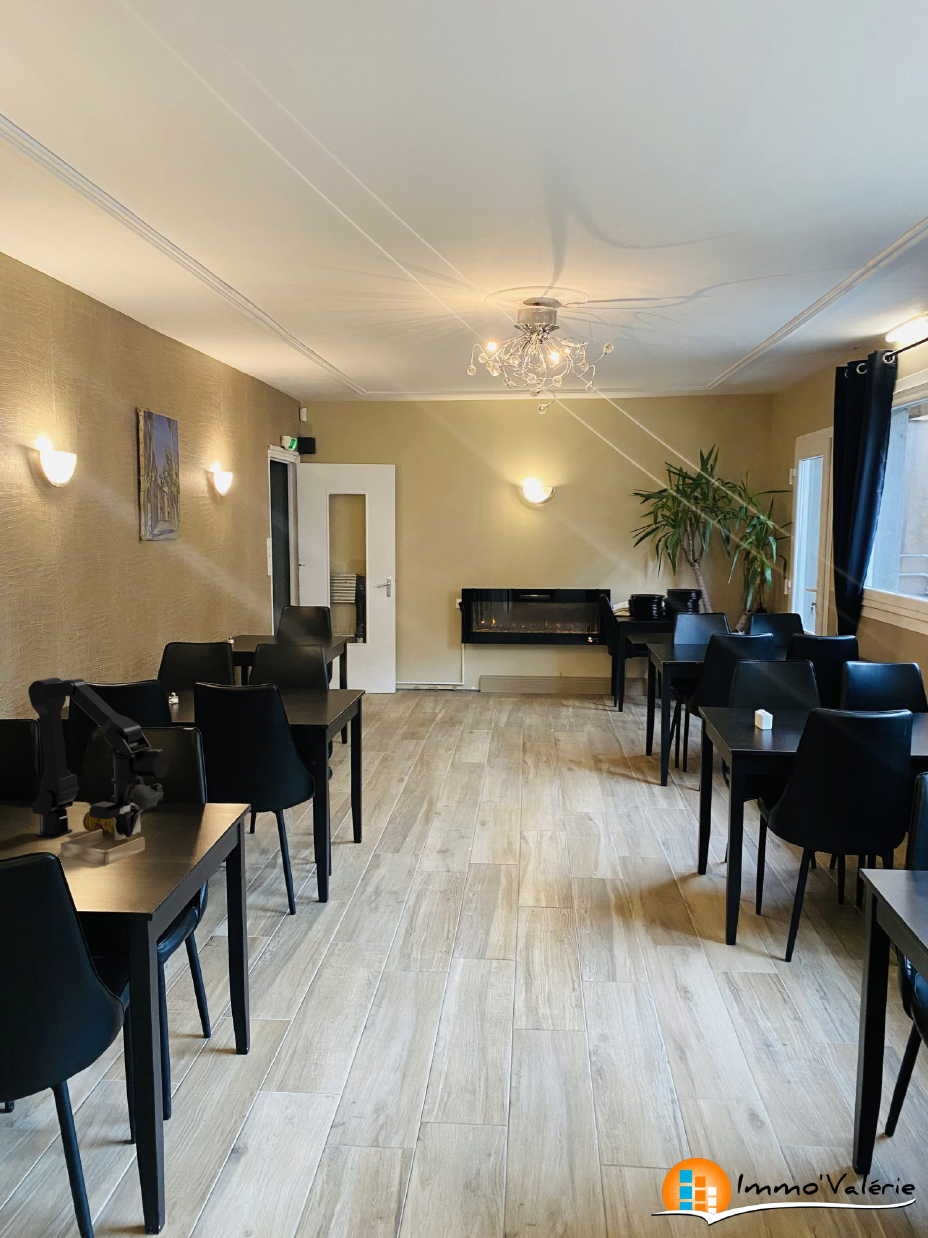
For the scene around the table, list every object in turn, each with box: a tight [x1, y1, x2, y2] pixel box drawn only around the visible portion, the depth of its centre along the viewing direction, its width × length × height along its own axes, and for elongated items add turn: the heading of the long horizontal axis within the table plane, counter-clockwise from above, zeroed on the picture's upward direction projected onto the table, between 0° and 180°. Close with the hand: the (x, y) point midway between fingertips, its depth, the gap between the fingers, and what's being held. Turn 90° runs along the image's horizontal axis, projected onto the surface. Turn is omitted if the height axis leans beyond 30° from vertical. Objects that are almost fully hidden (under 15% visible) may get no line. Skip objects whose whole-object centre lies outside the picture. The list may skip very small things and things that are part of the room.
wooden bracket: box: [60, 829, 146, 866], centre depth 213 cm, size 15×12×3 cm
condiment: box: [82, 810, 142, 842], centre depth 227 cm, size 7×8×12 cm
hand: (128, 837), depth 220 cm, fingers closed
